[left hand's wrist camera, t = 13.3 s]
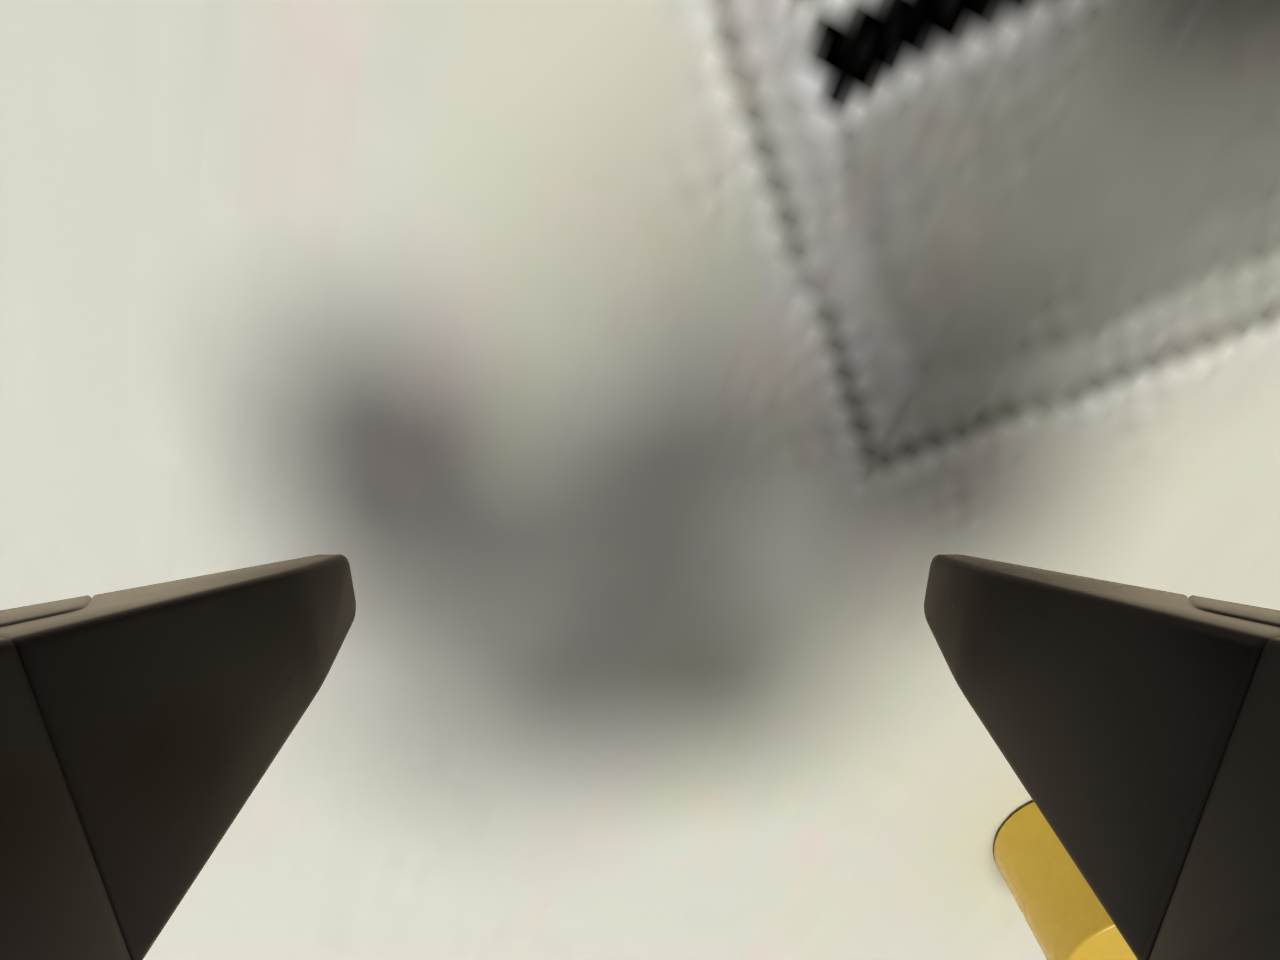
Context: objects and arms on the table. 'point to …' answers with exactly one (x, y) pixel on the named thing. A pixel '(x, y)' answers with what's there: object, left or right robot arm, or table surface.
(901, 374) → the table surface
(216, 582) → the left robot arm
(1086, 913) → the tin
